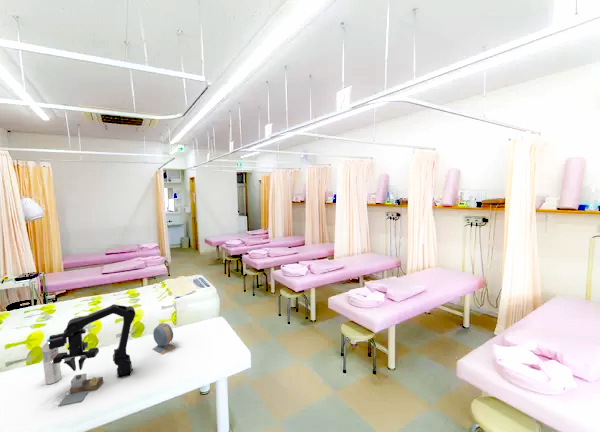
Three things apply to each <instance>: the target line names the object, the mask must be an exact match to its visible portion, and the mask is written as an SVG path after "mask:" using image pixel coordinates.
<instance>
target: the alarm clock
mask: <svg viewBox="0 0 600 432" xmlns="http://www.w3.org/2000/svg"><path fill="white" fill-rule="evenodd" d="M152 335H153V339H154V342H155V343H156V346H155V347H153V348H152V350H153V351H154V352H157V353H158V354H160V355H164V354H167V353H168V352H170V351H172V350H174V349H177V347H176V346H175V345H173V344H171V342H172V341H173V339H174V332H173V329H172V327H171V326H170V324H169V323H164V322H161V323H159V324H157V326H155V327H154V329H153V334H152Z"/></svg>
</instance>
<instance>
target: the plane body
mask: <svg viewBox="0 0 600 432" xmlns="http://www.w3.org/2000/svg"><path fill="white" fill-rule="evenodd" d="M97 378H98V380H99V382H98V383H97V385H95V386H90V383H89V382H90V381H91V379H92V378H90V379H89V378H88V379H87V381H86V382H85V383H84V385H83V386H81V387H76V388H71V387H70V389H69V394H74V393H79V392H84V391H88V392H90V391H96V390H99V389H100V388H101V386H102V384H103V383H104V378H103V376H100V377H97Z"/></svg>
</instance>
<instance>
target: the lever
mask: <svg viewBox="0 0 600 432" xmlns="http://www.w3.org/2000/svg"><path fill="white" fill-rule="evenodd" d="M98 378H99V377H95V376H94V377H92V378H90V379H91V381H90V382H89V383H90V386H95V385H97V383H98V382H99V380H98Z"/></svg>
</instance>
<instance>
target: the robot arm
mask: <svg viewBox="0 0 600 432" xmlns="http://www.w3.org/2000/svg"><path fill="white" fill-rule="evenodd" d="M113 314H115V315H117V316H119V317H121V318H122V321H123V323H122V326H121V327H122V328H121V332H120V338H119V343H118V346H117V348H116V349H114V350H113V355H112V360H113V363H114V364H115V366H117V368H116V374H117V378H118V379H120V378H125V377H126V378H127V377H130V376H131V375H132V372H133V371H134V368H133V364H132V363H133V362H132V360H131V355H129V354H127V346H128V340H129V337H130V336H129V334H130V330H131V326H132V323H133V321H134V319H135V318H136V317H135V316H136V310H135V308H134V306H130V305H129V306H125V305H118V304H112V305H110V306H107V307H105V308H102V309H100V310H97V311H95V312H93V313H89V314H88V315H83V316H78V317H77V316H76V317H74V318H71V319H70V320H69V321H68V322H67V325H66V328H65V329H64V330H63V332H62V333H61V332H60V333H57V334H52V335H49V338H48V339H49V349H50V350H51V349H55V348H58V349H59V348H62V347H65V346H66V344H68V347H67V350H68V352H69V353H68V352H67V351H64V352H59V354H58V355H57V356H56V357H55V358H54V359H53V364H56V363H60V364H61V362H62V361H63V360H64V362H63V364H65V365H67V366H68V367H70V368H71V369H72V371H73V372H76V370H77V365H76V361H75V360H76V358H78V357H80V358H79V359H78V367H79V368H78V369H79V371H81V370H83V366H84V364H85V360H86V359H92V358H93V359H94V358H96V356H97V355H98V353H99V351H100V349H99V348H98V347H91V348H89V349H88V346H89V345H88V344H89V342H88V341H85V342H84V340H83V335H84V334H86V332H87V330H86V329H84V328H85V327H86V326H87V325H89V324H91V323H94V322H96V321H98V320H101V319H104V318H106V317H108V316H110V315H113ZM67 342H68V343H67ZM86 349H88V350H86ZM85 350H86V351H85Z"/></svg>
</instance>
